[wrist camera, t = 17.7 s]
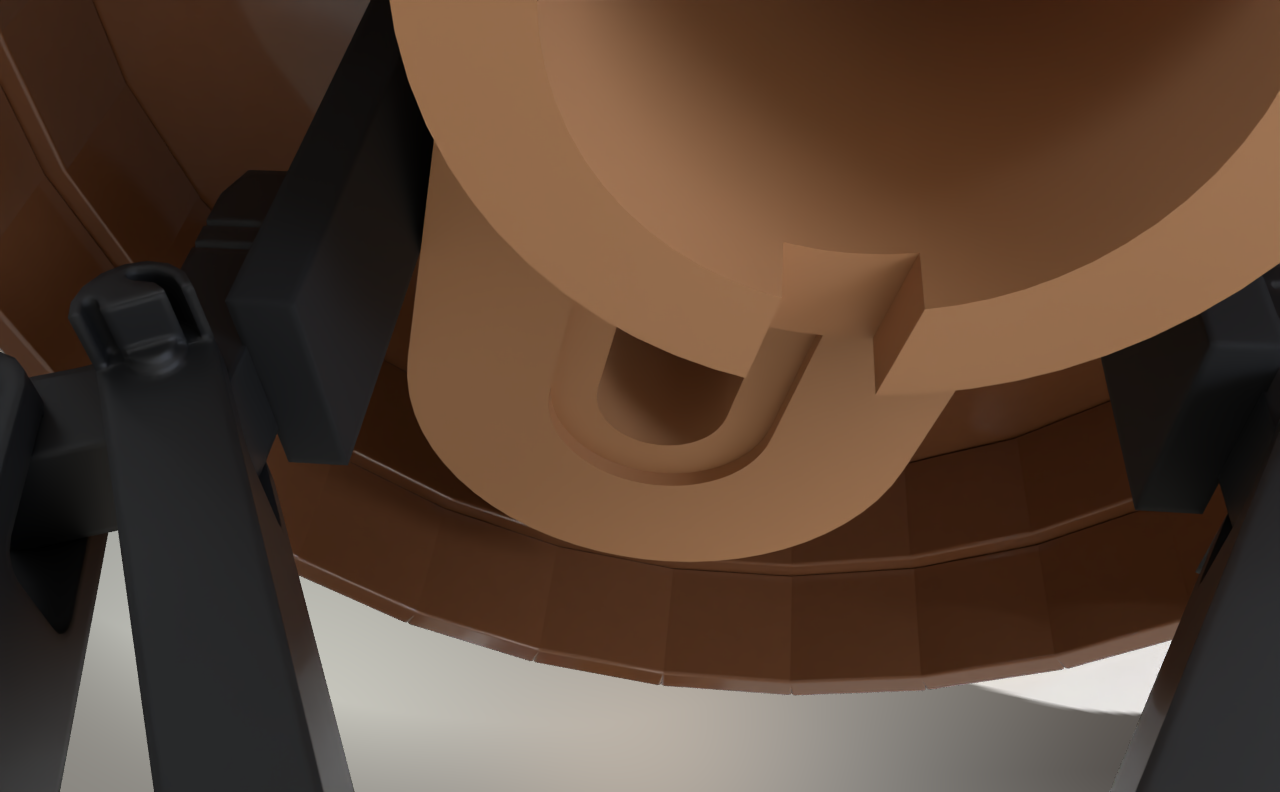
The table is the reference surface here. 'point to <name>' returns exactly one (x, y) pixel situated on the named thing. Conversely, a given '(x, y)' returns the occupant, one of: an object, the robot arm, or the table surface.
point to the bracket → (803, 236)
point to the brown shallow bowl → (496, 543)
